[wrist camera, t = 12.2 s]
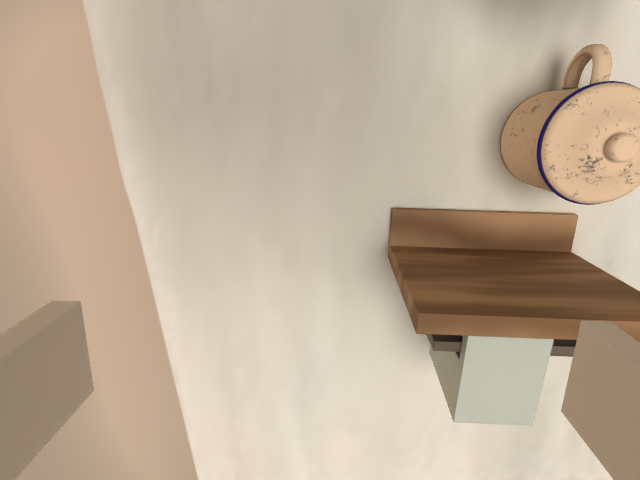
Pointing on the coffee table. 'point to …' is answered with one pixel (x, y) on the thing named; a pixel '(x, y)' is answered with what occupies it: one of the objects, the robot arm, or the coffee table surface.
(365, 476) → the coffee table surface
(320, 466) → the coffee table surface
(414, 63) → the coffee table surface
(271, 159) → the coffee table surface
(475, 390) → the grey-green box
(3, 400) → the robot arm
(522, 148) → the teacup with lid
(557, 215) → the brown wooden rack
